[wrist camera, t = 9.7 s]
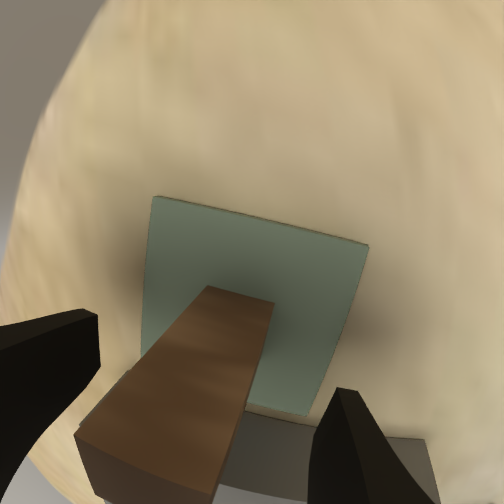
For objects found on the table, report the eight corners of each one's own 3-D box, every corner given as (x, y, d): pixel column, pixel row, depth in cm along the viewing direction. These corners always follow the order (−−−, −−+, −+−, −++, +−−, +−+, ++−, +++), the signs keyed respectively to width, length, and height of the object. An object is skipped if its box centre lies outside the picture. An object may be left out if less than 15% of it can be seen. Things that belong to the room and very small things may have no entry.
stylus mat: (367, 244, 11) (369, 247, 10) (306, 410, 13) (306, 416, 13) (157, 195, 12) (152, 196, 11) (144, 362, 14) (140, 366, 14)
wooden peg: (275, 302, 11) (210, 494, 4) (260, 359, 12) (199, 537, 5) (207, 284, 12) (73, 434, 4) (198, 341, 12) (95, 494, 5)
